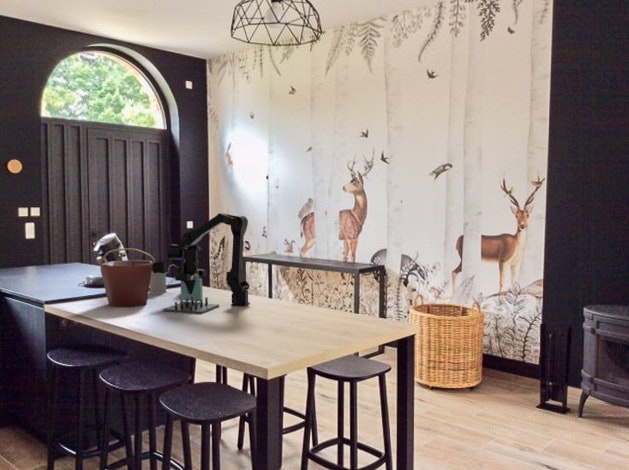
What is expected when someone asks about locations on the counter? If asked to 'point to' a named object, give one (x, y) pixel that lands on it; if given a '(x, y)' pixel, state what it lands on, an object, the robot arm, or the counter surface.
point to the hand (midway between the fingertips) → (191, 293)
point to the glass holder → (158, 278)
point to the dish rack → (191, 306)
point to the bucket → (126, 280)
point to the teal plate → (195, 293)
